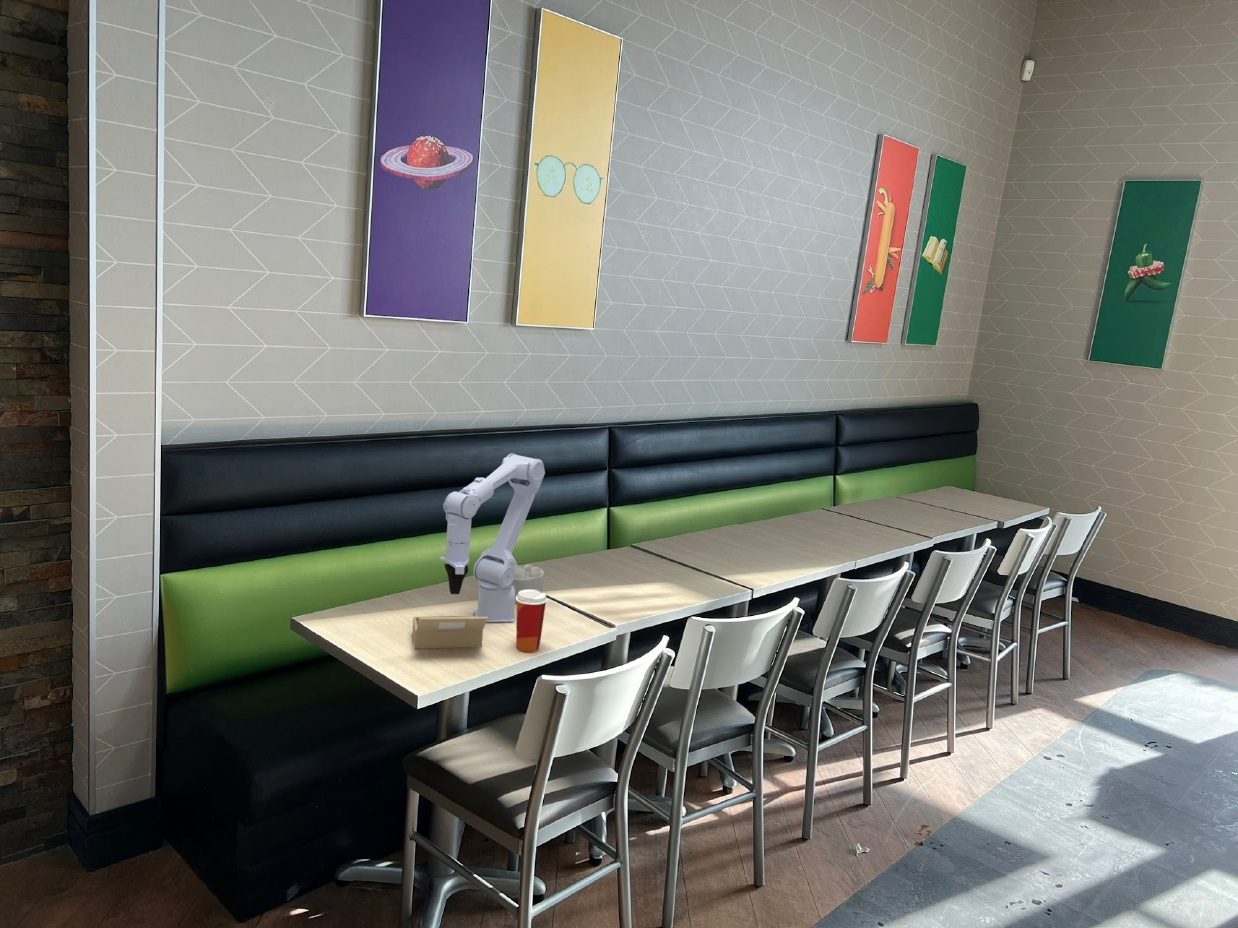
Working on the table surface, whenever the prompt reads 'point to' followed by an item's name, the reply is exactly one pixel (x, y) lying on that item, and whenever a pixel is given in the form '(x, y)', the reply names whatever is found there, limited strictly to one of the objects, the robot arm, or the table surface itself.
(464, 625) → the lid flap
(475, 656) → the table surface
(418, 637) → the kraft box
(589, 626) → the table surface
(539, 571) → the clear tub of eggs
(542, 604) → the paper cup
